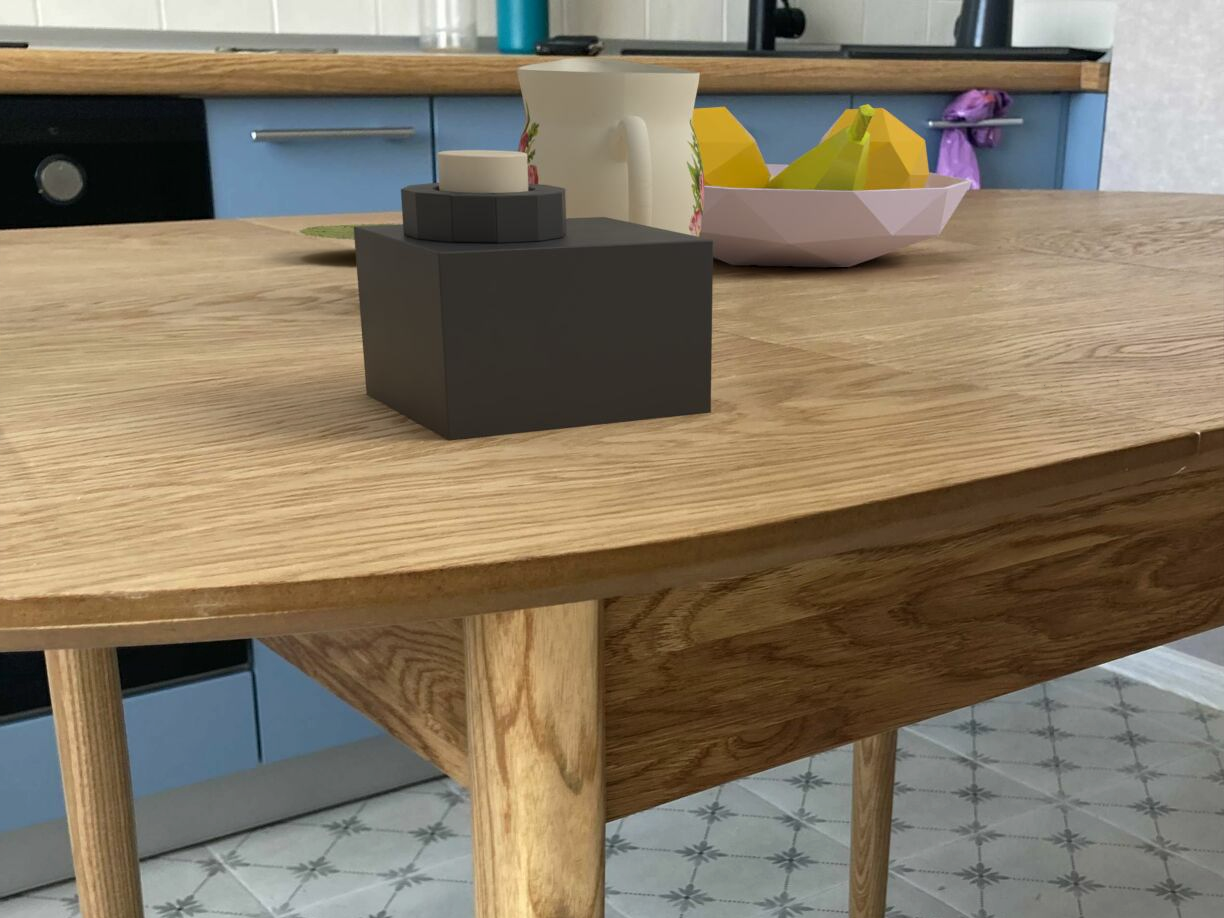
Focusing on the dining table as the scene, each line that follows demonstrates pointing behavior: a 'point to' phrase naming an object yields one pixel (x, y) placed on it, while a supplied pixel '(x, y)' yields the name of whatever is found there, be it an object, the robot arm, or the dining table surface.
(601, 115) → the pitcher
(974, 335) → the dining table surface
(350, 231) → the mat
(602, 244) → the base
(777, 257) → the fruit bowl
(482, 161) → the lid button
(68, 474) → the dining table surface
